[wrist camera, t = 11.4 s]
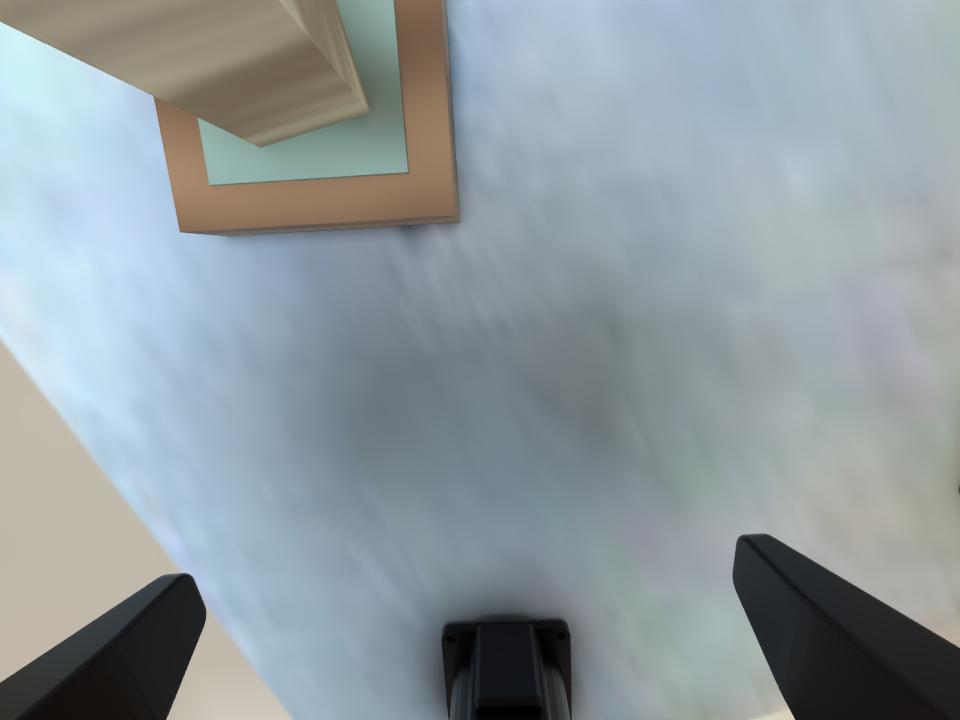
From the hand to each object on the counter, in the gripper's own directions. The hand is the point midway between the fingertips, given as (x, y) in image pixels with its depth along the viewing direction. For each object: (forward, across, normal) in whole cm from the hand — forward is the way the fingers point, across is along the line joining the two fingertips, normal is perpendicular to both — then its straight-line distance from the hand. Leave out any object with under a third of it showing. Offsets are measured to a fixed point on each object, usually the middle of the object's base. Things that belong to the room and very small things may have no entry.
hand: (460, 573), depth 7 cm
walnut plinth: (+15, +5, -10) cm, 18 cm away
